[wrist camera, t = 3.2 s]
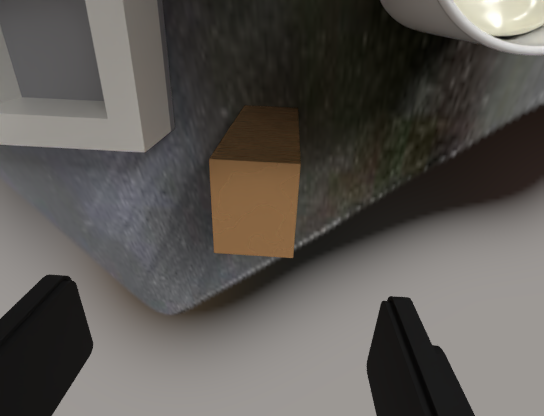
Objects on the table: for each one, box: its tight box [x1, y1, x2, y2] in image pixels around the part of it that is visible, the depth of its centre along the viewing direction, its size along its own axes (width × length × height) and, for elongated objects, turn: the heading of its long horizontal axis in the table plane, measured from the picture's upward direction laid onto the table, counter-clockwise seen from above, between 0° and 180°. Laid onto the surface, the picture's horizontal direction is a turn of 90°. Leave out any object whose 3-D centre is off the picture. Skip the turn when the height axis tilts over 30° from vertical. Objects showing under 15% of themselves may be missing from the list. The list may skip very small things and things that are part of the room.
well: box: [0, 0, 175, 153], centre depth 21 cm, size 13×13×6 cm
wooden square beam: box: [209, 105, 301, 258], centre depth 21 cm, size 4×5×12 cm
